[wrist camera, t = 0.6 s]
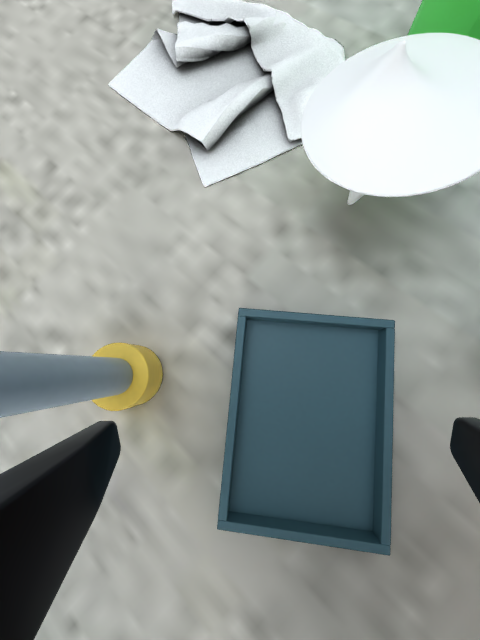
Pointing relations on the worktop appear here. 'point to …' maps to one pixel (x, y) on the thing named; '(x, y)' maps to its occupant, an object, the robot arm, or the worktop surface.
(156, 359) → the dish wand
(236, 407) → the tray
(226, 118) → the cloth
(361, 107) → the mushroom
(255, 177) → the worktop surface
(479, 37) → the bottle
